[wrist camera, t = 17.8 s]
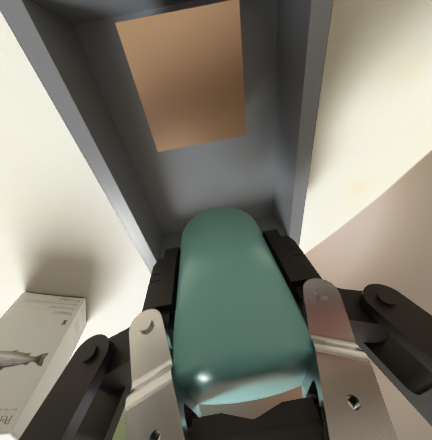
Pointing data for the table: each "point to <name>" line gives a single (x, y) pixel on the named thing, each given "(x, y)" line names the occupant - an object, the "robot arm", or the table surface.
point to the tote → (190, 155)
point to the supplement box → (34, 354)
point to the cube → (189, 73)
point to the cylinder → (235, 314)
